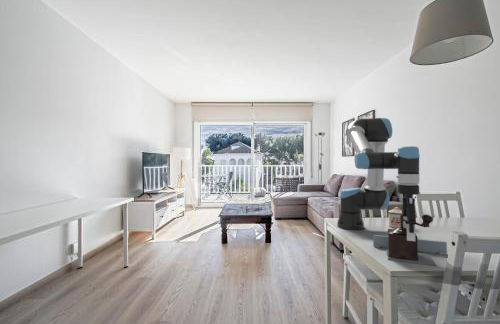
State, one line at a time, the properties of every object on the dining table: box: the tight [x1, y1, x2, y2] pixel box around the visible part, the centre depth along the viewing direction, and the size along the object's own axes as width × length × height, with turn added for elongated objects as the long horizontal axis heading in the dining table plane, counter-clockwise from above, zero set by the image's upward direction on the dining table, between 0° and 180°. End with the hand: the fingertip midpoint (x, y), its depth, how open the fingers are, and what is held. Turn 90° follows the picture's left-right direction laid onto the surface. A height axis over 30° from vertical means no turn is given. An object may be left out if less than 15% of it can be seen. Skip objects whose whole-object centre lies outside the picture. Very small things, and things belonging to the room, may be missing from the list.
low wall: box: [372, 234, 448, 256], centre depth 118 cm, size 4×28×5 cm, turn 66°
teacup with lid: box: [388, 206, 402, 229], centre depth 159 cm, size 12×9×12 cm
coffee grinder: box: [387, 214, 434, 260], centre depth 108 cm, size 16×11×18 cm
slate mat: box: [385, 248, 437, 267], centre depth 108 cm, size 12×16×1 cm
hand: (408, 236), depth 108 cm, fingers open, 13 cm apart
